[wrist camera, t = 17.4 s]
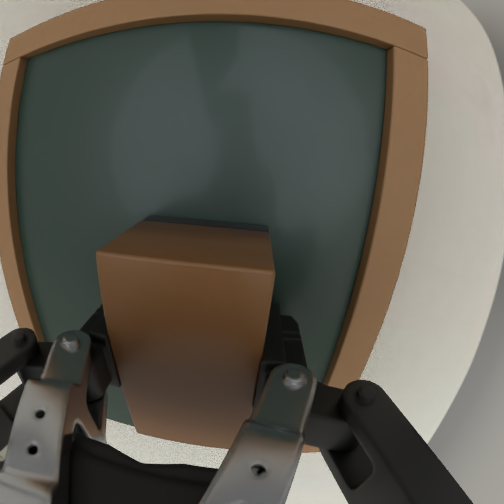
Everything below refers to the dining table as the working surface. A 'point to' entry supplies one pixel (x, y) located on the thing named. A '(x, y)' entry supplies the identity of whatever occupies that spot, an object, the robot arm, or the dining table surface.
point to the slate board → (216, 154)
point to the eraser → (188, 323)
